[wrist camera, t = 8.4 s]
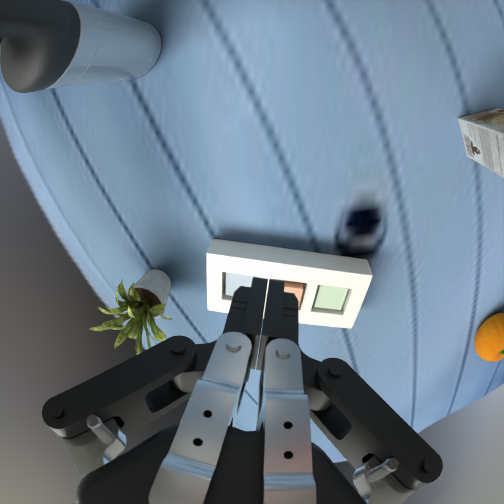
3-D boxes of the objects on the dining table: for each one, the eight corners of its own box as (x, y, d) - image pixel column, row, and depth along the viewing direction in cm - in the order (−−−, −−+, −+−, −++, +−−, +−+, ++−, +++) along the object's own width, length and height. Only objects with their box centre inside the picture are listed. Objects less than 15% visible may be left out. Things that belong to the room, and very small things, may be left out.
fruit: (505, 297, 43) (524, 329, 34) (511, 322, 46) (527, 351, 37) (465, 328, 48) (480, 362, 40) (475, 349, 51) (488, 380, 43)
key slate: (228, 285, 47) (225, 294, 45) (229, 263, 45) (226, 272, 43) (255, 289, 47) (253, 299, 45) (257, 267, 44) (255, 276, 42)
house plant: (218, 285, 49) (191, 361, 35) (178, 322, 55) (151, 389, 42) (150, 234, 45) (99, 298, 31) (120, 280, 52) (78, 340, 38)
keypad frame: (213, 293, 50) (207, 309, 46) (213, 238, 44) (206, 253, 41) (348, 311, 48) (351, 328, 45) (367, 259, 43) (372, 275, 39)
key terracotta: (270, 297, 45) (269, 307, 43) (273, 275, 43) (272, 285, 41) (297, 300, 45) (297, 311, 43) (303, 279, 43) (303, 289, 41)
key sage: (313, 297, 46) (314, 306, 44) (319, 275, 44) (320, 285, 42) (339, 300, 46) (340, 309, 44) (346, 279, 44) (348, 288, 42)
